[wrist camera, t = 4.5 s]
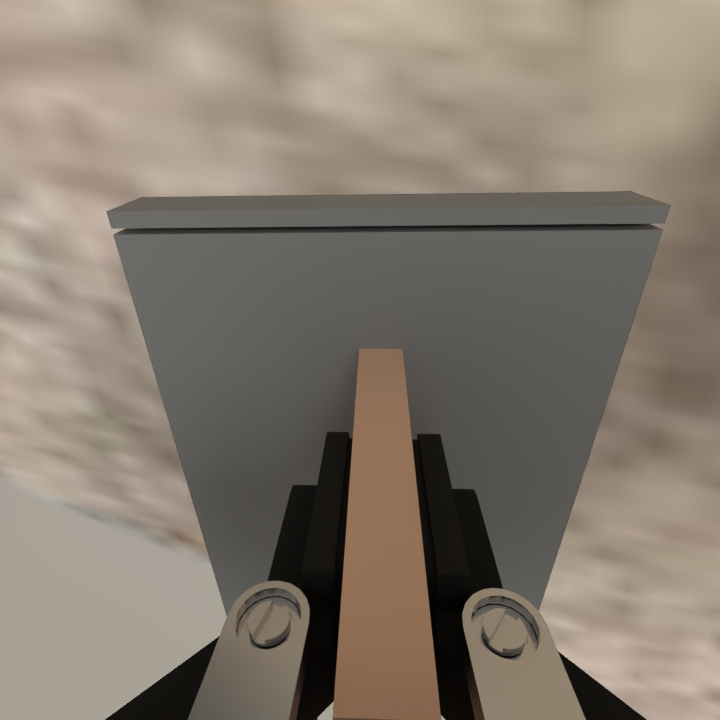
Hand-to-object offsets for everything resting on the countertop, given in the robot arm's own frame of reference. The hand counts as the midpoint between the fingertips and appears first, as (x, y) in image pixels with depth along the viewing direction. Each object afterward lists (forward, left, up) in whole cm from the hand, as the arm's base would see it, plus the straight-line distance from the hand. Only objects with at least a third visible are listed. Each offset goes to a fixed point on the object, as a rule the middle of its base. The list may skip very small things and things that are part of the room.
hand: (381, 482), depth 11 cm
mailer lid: (+4, 0, -5) cm, 6 cm away
